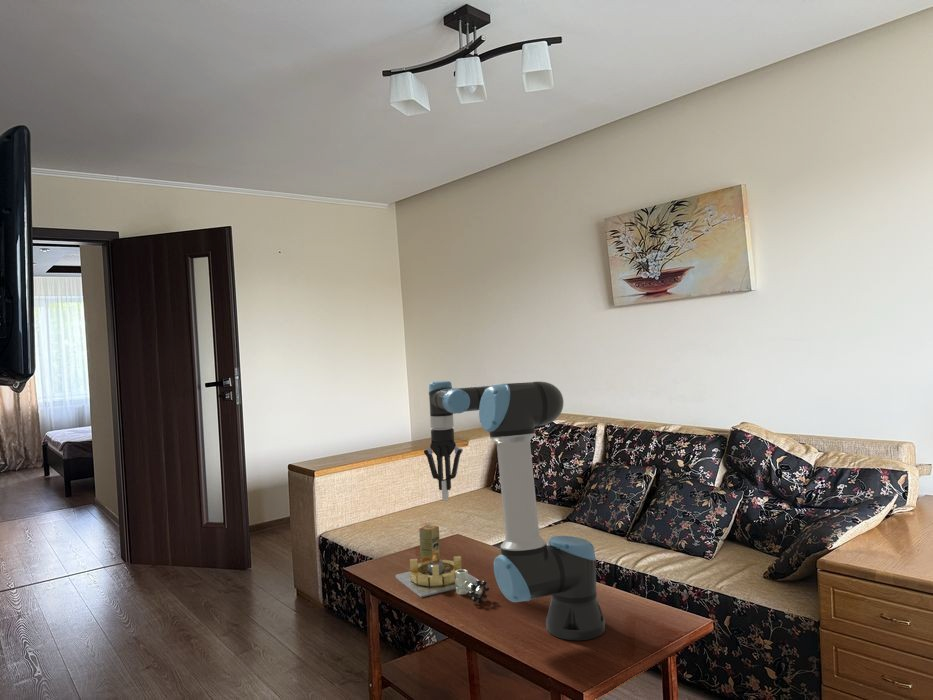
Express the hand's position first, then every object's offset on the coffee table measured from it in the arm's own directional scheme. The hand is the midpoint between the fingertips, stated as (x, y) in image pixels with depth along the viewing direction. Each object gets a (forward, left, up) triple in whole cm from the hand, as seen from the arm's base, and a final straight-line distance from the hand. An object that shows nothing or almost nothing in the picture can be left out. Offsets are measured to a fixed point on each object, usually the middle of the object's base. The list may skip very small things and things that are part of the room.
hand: (445, 499), depth 211 cm
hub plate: (-3, +6, -24) cm, 25 cm away
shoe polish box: (+14, 0, -25) cm, 28 cm away
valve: (-20, +4, -25) cm, 32 cm away
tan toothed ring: (-3, +6, -23) cm, 24 cm away
